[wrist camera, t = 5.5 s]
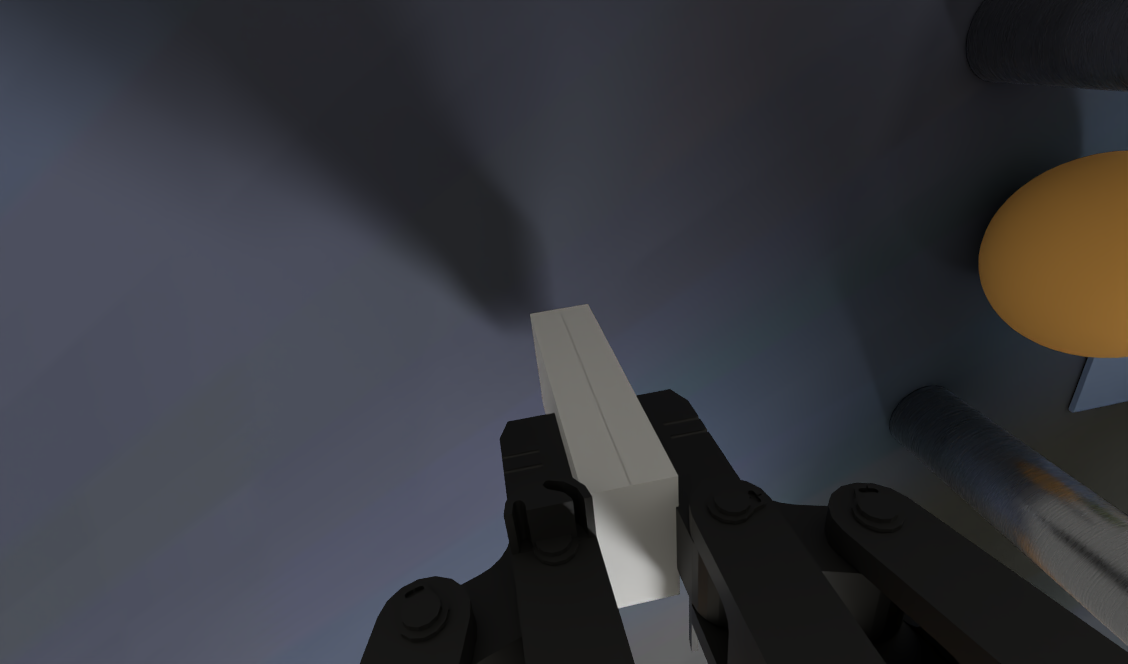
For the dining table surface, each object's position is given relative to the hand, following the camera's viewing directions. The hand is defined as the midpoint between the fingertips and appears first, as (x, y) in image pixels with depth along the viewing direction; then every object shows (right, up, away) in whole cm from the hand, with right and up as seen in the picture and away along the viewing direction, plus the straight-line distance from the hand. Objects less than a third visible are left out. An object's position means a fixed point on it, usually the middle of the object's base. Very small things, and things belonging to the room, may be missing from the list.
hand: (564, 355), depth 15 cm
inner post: (+13, -2, +6) cm, 15 cm away
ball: (+15, +3, +1) cm, 15 cm away
